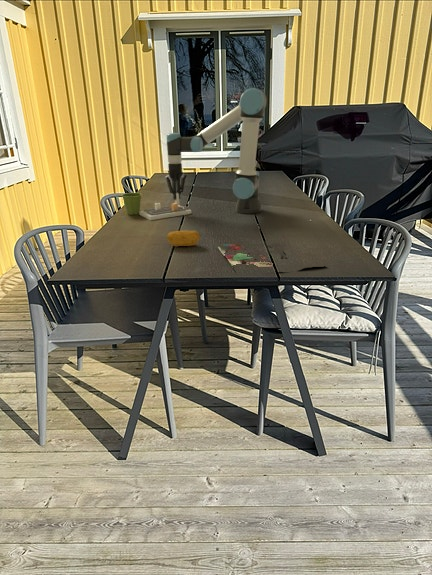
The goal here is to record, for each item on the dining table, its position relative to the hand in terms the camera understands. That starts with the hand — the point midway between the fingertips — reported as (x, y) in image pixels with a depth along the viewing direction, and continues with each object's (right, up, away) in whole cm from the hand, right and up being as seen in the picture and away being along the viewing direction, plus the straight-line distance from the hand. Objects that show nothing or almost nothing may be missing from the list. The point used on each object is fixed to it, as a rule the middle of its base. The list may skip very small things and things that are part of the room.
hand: (177, 204), depth 231 cm
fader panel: (-7, -5, +2) cm, 9 cm away
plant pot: (-26, -5, +4) cm, 27 cm away
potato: (+8, -30, -53) cm, 61 cm away
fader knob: (-2, -3, 0) cm, 4 cm away
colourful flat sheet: (+44, -37, -68) cm, 89 cm away
